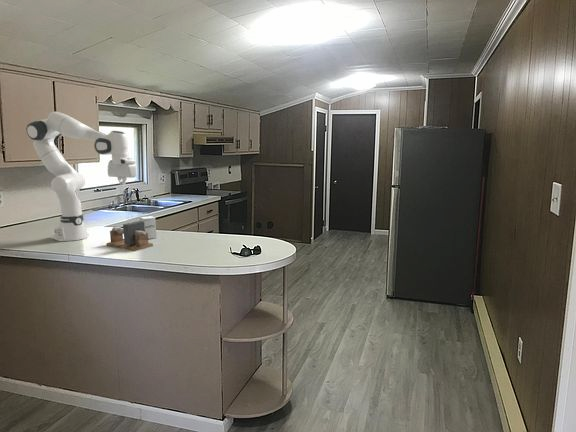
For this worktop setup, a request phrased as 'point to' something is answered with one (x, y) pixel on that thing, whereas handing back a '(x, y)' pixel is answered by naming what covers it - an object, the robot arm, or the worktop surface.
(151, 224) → the supplement box
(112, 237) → the pipe stand
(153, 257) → the worktop surface
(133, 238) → the grey flat block
